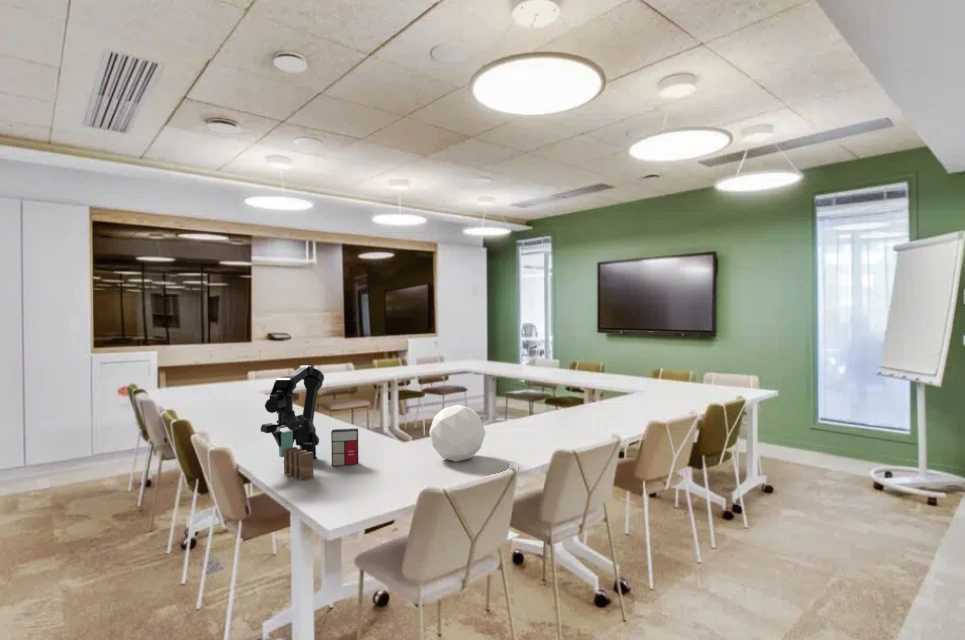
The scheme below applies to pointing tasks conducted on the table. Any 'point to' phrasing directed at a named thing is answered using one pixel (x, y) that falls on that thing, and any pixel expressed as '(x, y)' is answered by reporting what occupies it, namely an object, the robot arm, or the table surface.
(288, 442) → the domino
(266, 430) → the robot arm
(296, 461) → the domino
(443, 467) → the table surface
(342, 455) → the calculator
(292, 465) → the domino
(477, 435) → the geometric sculpture
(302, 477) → the domino
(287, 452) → the domino
